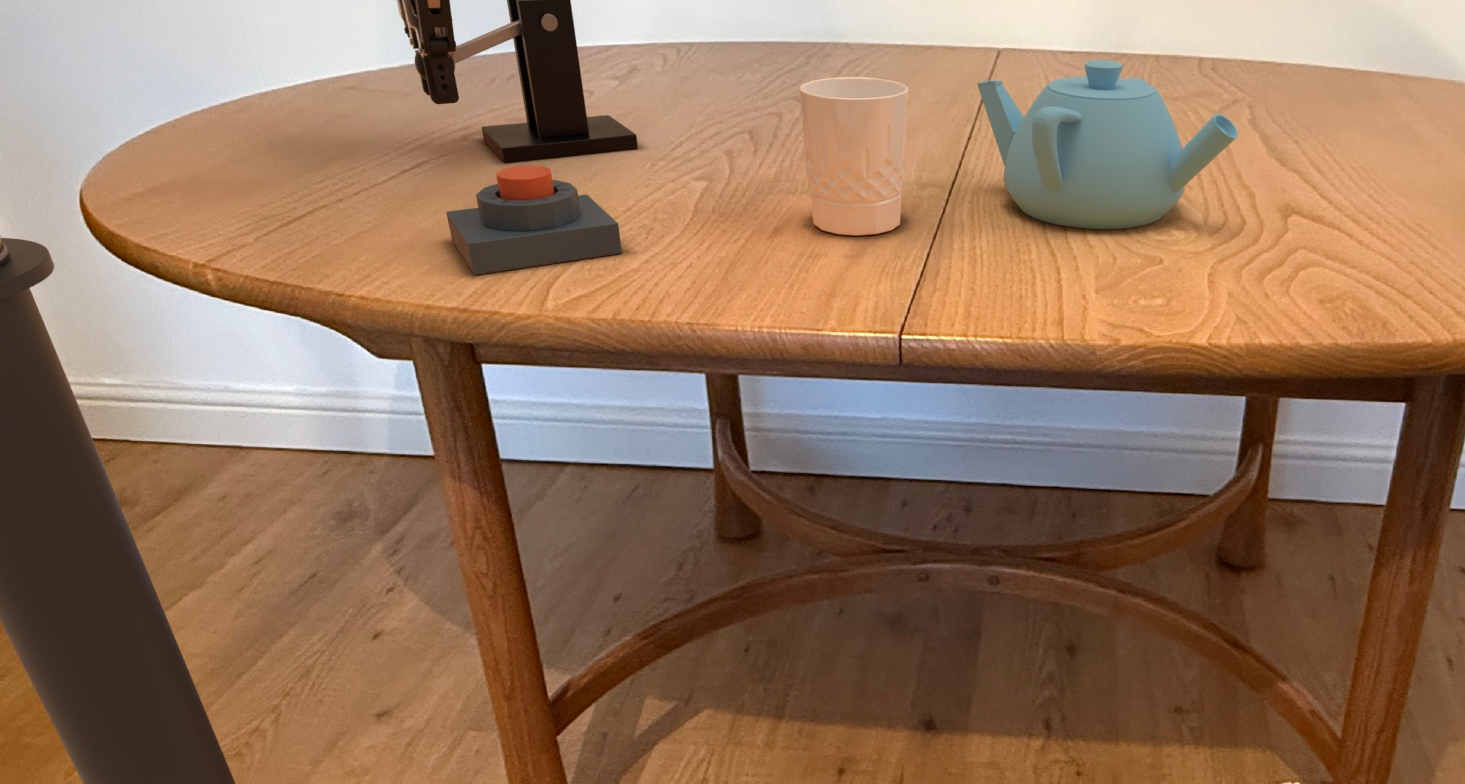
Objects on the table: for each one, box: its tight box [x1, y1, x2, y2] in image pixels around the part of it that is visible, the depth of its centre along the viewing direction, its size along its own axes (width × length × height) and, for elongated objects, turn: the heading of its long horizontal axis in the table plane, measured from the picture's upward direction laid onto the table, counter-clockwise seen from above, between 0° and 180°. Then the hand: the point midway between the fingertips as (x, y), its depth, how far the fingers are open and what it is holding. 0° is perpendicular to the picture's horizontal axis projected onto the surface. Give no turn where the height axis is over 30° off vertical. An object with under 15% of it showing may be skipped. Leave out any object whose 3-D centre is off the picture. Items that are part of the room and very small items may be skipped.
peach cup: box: [799, 76, 909, 236], centre depth 85 cm, size 8×8×10 cm
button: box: [495, 165, 555, 200], centre depth 79 cm, size 4×4×2 cm
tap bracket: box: [481, 0, 639, 164], centre depth 103 cm, size 12×9×13 cm
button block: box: [446, 179, 623, 276], centre depth 80 cm, size 10×8×4 cm
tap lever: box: [414, 9, 522, 80], centre depth 100 cm, size 13×3×3 cm, turn 120°
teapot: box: [977, 59, 1239, 230], centre depth 90 cm, size 15×17×11 cm
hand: (441, 97), depth 100 cm, fingers closed on tap lever, 3 cm apart
